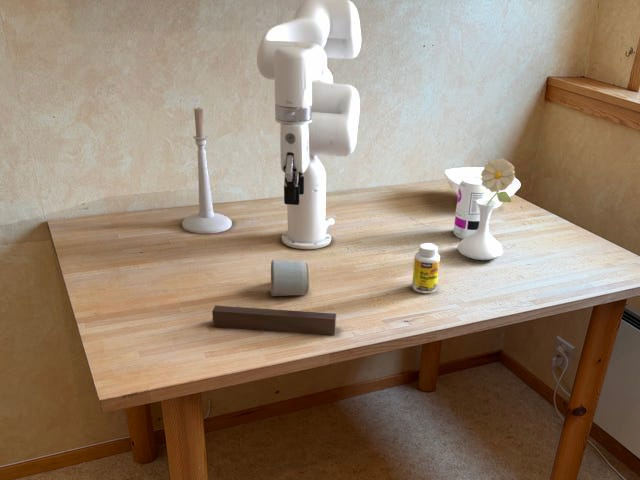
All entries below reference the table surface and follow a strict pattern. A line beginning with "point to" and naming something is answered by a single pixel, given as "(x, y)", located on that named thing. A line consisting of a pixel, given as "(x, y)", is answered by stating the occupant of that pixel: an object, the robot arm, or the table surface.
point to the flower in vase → (488, 211)
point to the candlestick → (204, 190)
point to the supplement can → (468, 206)
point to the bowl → (458, 174)
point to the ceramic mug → (289, 278)
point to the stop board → (274, 320)
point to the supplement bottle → (426, 268)
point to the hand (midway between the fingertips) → (294, 198)
